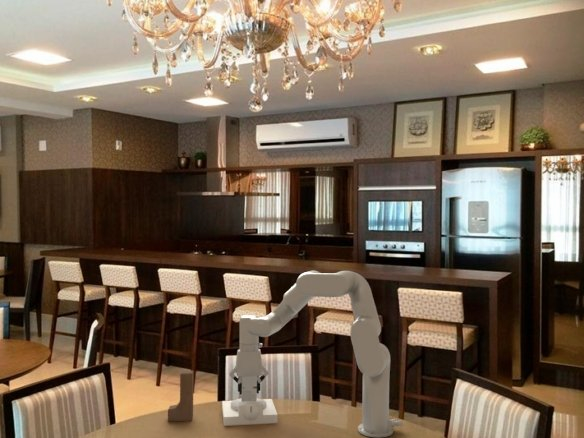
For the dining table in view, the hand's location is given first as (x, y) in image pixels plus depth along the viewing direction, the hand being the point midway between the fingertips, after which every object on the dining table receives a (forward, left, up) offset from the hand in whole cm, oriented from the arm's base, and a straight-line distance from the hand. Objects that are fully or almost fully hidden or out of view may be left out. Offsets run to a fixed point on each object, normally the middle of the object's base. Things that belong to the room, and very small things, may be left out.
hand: (249, 392), depth 212 cm
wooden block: (+26, +2, -9) cm, 28 cm away
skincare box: (0, 0, -3) cm, 3 cm away
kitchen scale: (0, +2, -8) cm, 9 cm away
